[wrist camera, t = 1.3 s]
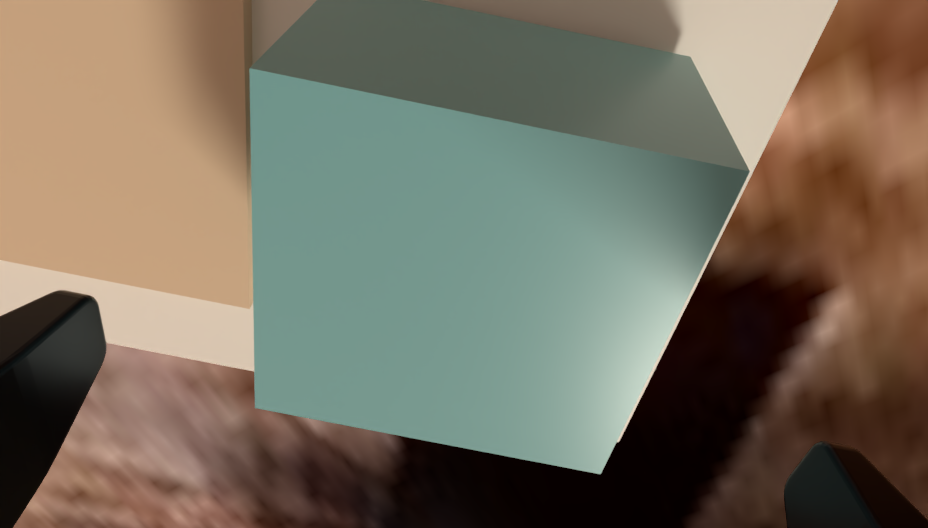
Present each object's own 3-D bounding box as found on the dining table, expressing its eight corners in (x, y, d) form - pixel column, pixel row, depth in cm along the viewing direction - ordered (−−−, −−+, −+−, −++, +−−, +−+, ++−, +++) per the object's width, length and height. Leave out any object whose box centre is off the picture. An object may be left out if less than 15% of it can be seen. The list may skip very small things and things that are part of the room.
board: (894, -210, 10) (1118, -198, 6) (614, 398, 19) (633, 570, 15) (-363, -491, 10) (-995, -675, 6) (-74, 264, 18) (-250, 404, 14)
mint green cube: (690, 56, 11) (749, 171, 8) (587, 321, 15) (600, 474, 12) (335, -19, 11) (249, 68, 8) (318, 267, 15) (254, 407, 11)
